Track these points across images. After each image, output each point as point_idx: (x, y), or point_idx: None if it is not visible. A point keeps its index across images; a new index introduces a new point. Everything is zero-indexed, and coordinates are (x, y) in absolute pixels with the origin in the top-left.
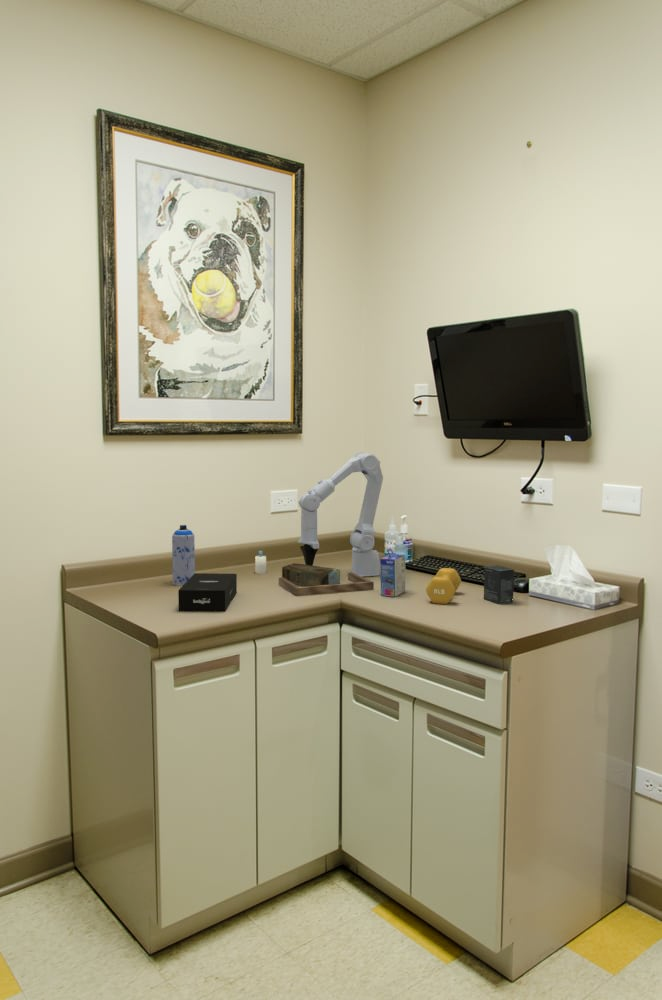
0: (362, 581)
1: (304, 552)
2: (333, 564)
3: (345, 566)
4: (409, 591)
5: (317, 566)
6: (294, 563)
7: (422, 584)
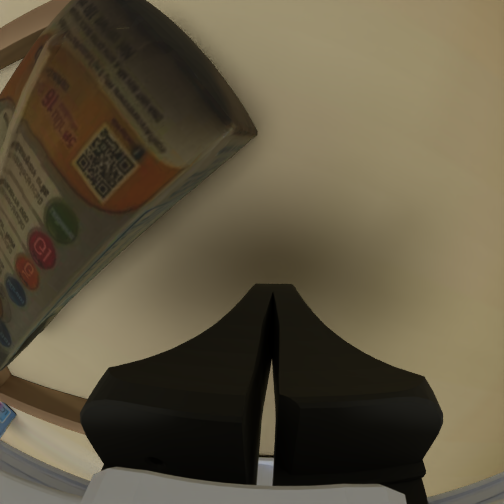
0: (30, 397)
1: (222, 355)
2: (491, 436)
3: (436, 464)
4: (11, 427)
5: (27, 302)
6: (210, 121)
7: None
